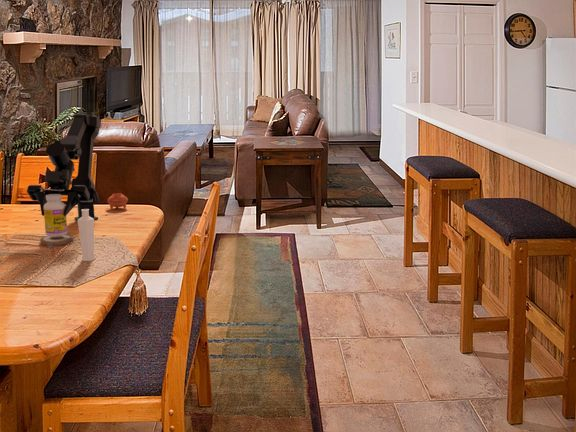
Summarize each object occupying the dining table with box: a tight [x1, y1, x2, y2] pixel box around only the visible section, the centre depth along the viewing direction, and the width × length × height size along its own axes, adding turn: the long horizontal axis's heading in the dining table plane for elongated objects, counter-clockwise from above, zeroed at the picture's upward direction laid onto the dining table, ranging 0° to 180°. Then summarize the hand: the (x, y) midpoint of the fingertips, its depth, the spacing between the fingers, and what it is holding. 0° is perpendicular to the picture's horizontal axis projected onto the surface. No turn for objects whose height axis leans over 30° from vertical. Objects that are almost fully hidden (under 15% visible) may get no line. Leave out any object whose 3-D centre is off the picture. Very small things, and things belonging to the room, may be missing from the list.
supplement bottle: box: [43, 194, 68, 237], centre depth 205 cm, size 7×7×13 cm
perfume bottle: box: [77, 209, 96, 262], centre depth 188 cm, size 5×4×15 cm
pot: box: [107, 192, 129, 210], centre depth 255 cm, size 8×8×7 cm
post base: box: [39, 234, 74, 249], centre depth 207 cm, size 13×10×1 cm
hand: (53, 215), depth 204 cm, fingers closed on supplement bottle, 7 cm apart
